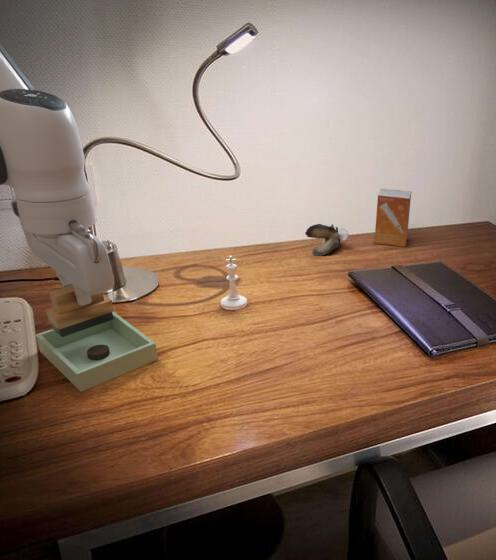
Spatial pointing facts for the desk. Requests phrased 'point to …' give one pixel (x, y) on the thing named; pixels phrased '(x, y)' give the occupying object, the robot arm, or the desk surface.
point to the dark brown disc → (98, 352)
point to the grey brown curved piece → (326, 237)
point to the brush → (77, 311)
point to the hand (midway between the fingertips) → (78, 298)
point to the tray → (73, 348)
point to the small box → (392, 217)
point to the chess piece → (233, 289)
